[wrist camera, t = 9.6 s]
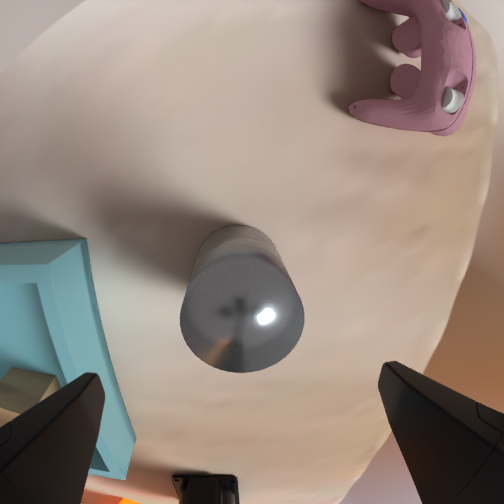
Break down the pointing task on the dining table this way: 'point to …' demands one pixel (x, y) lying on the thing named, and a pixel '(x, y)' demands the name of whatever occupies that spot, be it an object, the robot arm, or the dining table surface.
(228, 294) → the steel cylinder
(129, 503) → the orange juice
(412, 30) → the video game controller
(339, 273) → the dining table surface
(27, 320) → the tote
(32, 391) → the walnut cube
